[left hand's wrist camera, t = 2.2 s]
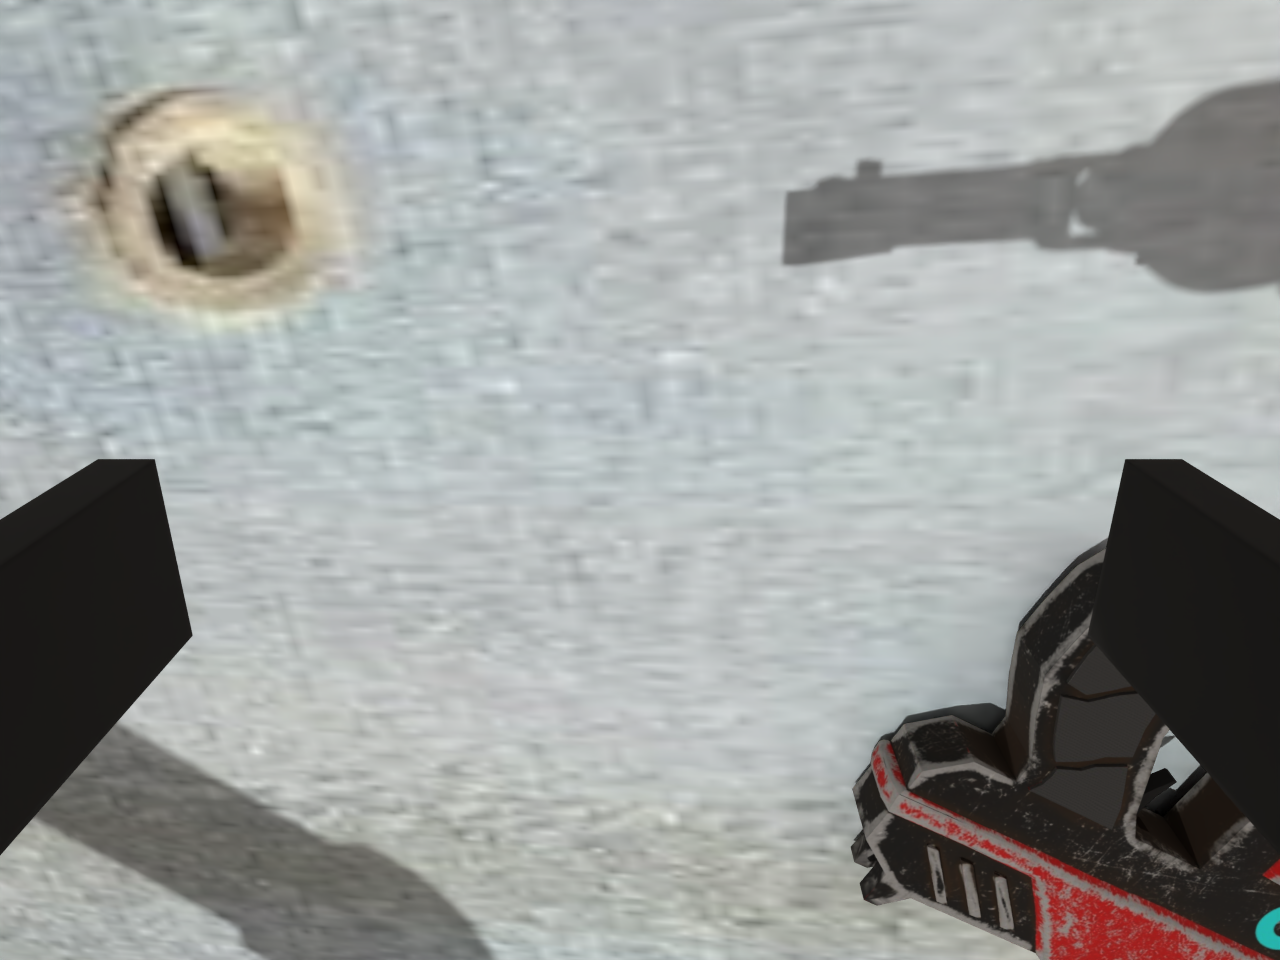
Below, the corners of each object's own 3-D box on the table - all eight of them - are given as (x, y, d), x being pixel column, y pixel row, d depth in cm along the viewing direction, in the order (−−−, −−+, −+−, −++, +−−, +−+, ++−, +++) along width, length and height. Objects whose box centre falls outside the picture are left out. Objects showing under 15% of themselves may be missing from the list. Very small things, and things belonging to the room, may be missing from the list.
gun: (1094, 561, 34) (821, 891, 41) (1667, 864, 39) (1337, 1113, 46) (1047, 511, 38) (806, 818, 45) (1570, 790, 43) (1280, 1029, 50)
